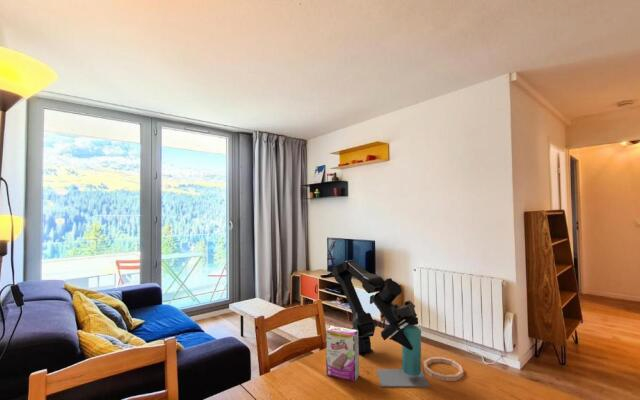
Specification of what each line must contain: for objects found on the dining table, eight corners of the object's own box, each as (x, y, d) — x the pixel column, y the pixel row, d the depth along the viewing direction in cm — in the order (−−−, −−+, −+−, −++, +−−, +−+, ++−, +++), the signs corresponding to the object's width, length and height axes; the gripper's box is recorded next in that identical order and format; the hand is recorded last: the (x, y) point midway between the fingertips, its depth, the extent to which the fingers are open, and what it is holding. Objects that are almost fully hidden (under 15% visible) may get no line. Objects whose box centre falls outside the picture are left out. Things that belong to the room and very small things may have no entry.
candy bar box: (325, 375, 108) (324, 330, 108) (331, 368, 113) (330, 324, 113) (355, 382, 103) (354, 334, 104) (360, 375, 108) (358, 329, 108)
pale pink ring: (416, 369, 110) (416, 365, 110) (437, 357, 119) (436, 353, 119) (449, 385, 100) (449, 381, 100) (469, 371, 108) (469, 367, 108)
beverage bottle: (422, 382, 100) (424, 320, 102) (401, 379, 101) (403, 318, 103) (419, 372, 107) (420, 315, 108) (400, 370, 108) (401, 313, 110)
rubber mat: (381, 387, 100) (381, 385, 100) (376, 370, 110) (376, 369, 110) (429, 387, 100) (429, 385, 100) (420, 370, 110) (420, 369, 110)
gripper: (388, 302, 101) (420, 344, 94) (411, 288, 115) (441, 325, 108) (368, 319, 106) (398, 361, 99) (393, 305, 120) (420, 340, 113)
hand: (416, 346), depth 104 cm, fingers closed on beverage bottle, 6 cm apart
